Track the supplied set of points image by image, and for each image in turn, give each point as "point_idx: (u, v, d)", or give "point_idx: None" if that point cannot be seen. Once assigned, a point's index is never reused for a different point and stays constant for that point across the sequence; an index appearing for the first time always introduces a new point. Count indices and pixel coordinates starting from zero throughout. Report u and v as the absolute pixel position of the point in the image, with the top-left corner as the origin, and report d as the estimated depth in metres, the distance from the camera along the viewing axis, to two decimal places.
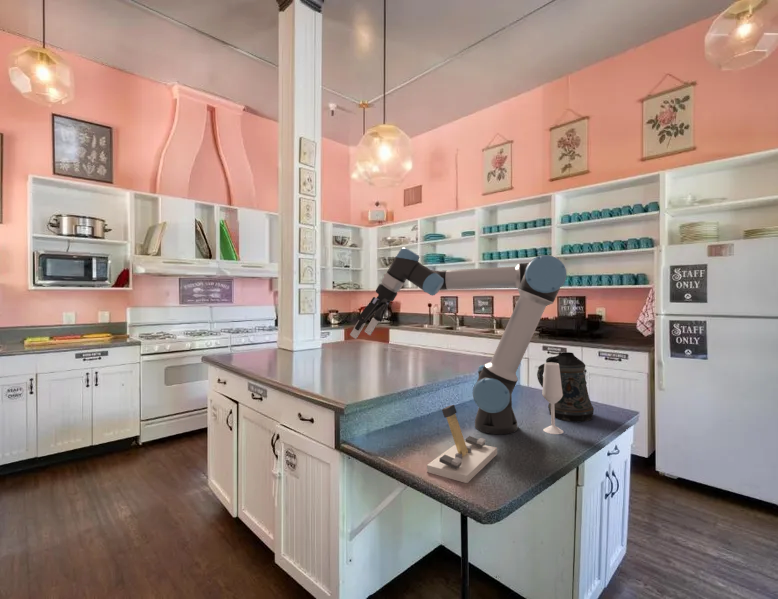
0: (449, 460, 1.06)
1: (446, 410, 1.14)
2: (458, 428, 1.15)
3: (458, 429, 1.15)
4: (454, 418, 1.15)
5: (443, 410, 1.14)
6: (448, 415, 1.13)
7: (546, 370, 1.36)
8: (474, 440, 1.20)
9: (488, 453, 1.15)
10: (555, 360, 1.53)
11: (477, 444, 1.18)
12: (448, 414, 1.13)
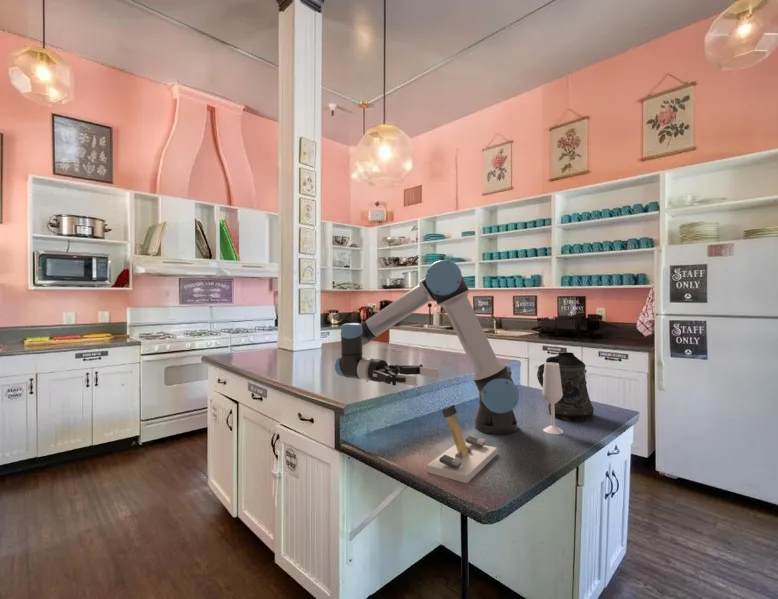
0: (449, 460, 1.06)
1: (446, 410, 1.14)
2: (458, 428, 1.15)
3: (458, 429, 1.15)
4: (454, 418, 1.15)
5: (443, 410, 1.14)
6: (448, 415, 1.13)
7: (546, 370, 1.36)
8: (474, 440, 1.20)
9: (488, 453, 1.15)
10: (555, 360, 1.53)
11: (477, 444, 1.18)
12: (448, 414, 1.13)
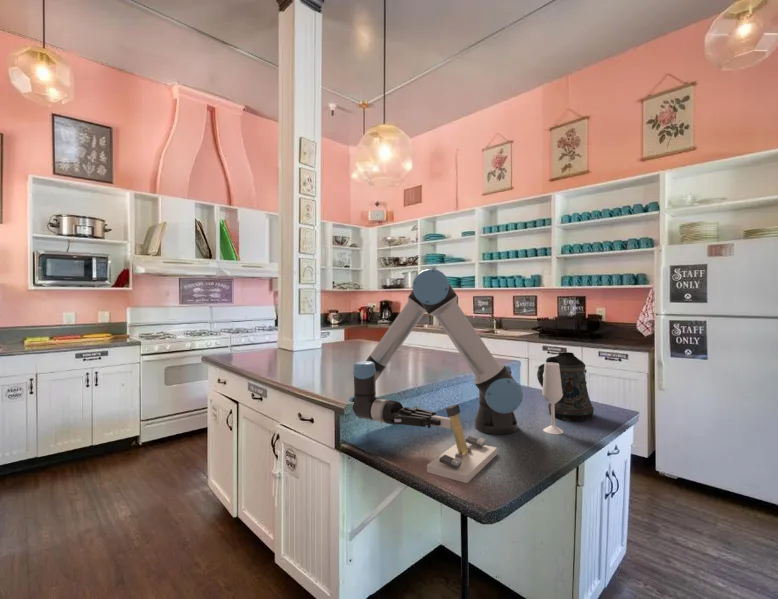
0: (449, 460, 1.06)
1: (450, 409, 1.13)
2: (460, 428, 1.15)
3: (460, 429, 1.14)
4: (457, 418, 1.15)
5: (447, 409, 1.14)
6: (452, 415, 1.13)
7: (546, 370, 1.36)
8: (474, 440, 1.20)
9: (488, 453, 1.15)
10: (555, 360, 1.53)
11: (477, 444, 1.18)
12: (452, 414, 1.13)
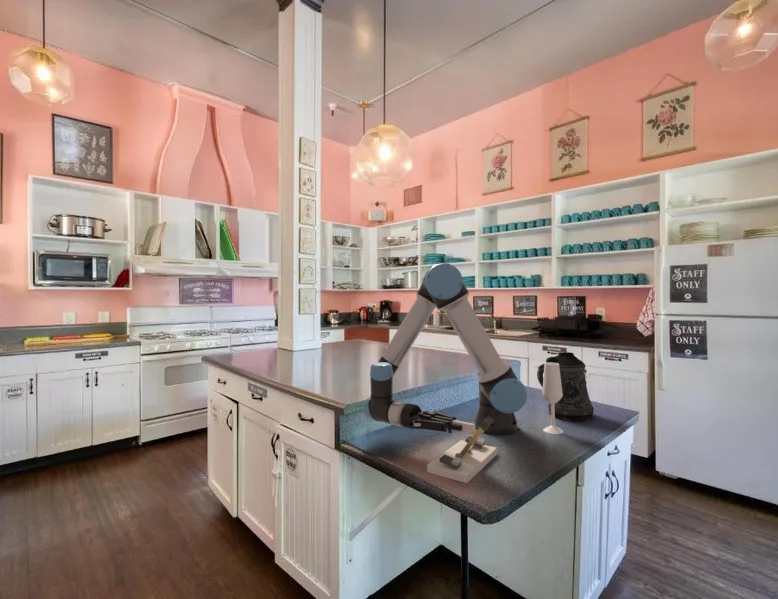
0: (449, 460, 1.06)
1: (486, 424, 1.07)
2: None
3: (478, 438, 1.11)
4: (484, 430, 1.10)
5: (483, 421, 1.07)
6: (483, 428, 1.07)
7: (546, 370, 1.36)
8: None
9: (488, 453, 1.15)
10: (555, 360, 1.53)
11: (477, 444, 1.18)
12: (484, 428, 1.07)
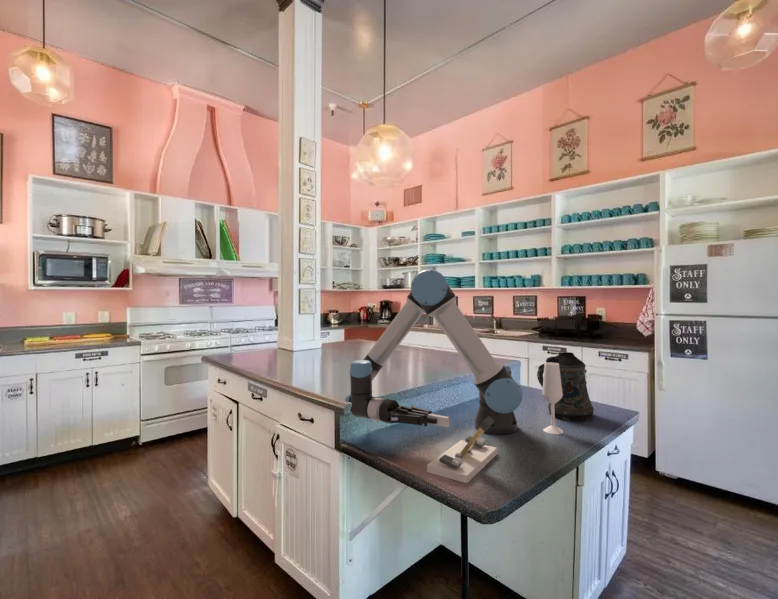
0: (449, 460, 1.06)
1: (486, 425, 1.07)
2: (479, 437, 1.11)
3: (478, 438, 1.11)
4: (484, 430, 1.10)
5: (484, 421, 1.07)
6: (483, 429, 1.07)
7: (546, 370, 1.36)
8: None
9: (488, 453, 1.15)
10: (555, 360, 1.53)
11: (477, 444, 1.18)
12: (484, 428, 1.07)
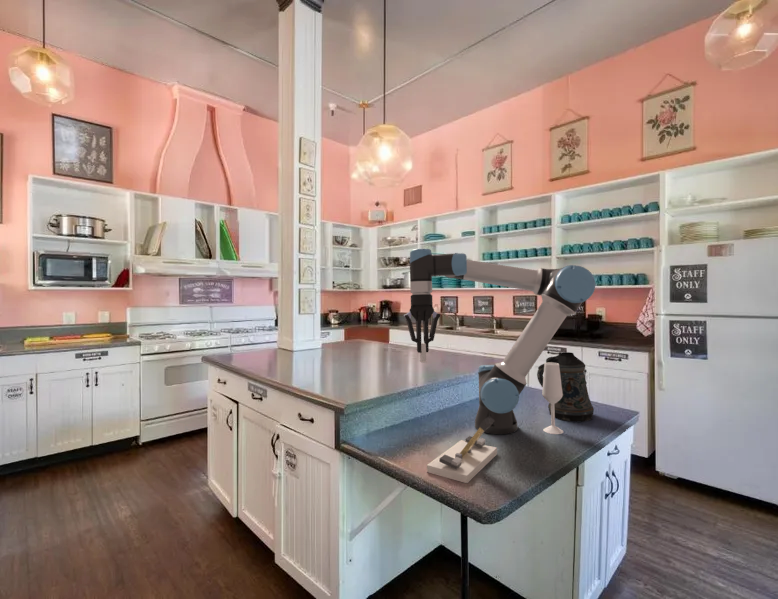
0: (449, 460, 1.06)
1: (486, 425, 1.07)
2: (479, 437, 1.11)
3: (478, 438, 1.11)
4: (484, 430, 1.10)
5: (484, 421, 1.07)
6: (483, 429, 1.07)
7: (546, 370, 1.36)
8: None
9: (488, 453, 1.15)
10: (555, 360, 1.53)
11: (477, 444, 1.18)
12: (484, 428, 1.07)
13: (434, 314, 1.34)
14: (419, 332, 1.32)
